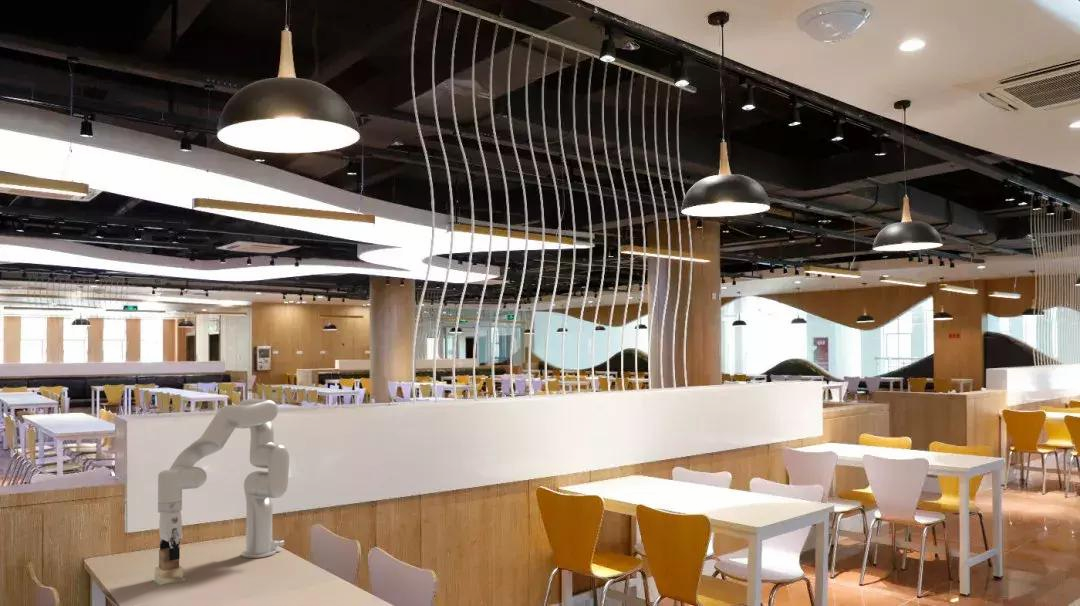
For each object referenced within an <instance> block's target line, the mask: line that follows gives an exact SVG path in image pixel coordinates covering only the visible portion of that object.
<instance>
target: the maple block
mask: <svg viewBox="0 0 1080 606" xmlns="http://www.w3.org/2000/svg"><path fill="white" fill-rule="evenodd" d="M183 578H184V567H183V566H181V565H180V564H179V568H175V569H169V570H164V571H163V570H162V569H160V568H159V566H157V567H154V579H155V580H156V581H158V582H159V583H160V584H162V585H164V584H163V583H167V584H169V583H168V582H172V583H174V582H173V581H177V582H179V581H178V580H182V581H184V580H183Z"/></svg>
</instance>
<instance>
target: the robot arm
mask: <svg viewBox="0 0 1080 606" xmlns="http://www.w3.org/2000/svg"><path fill="white" fill-rule="evenodd" d="M278 413H279V407H278V405H277V404H276V402H274V401H273V400H271V399H258V398H256V399H255V398H248V399H243V400H241V401H240V402H238V405H237V404H227V405H224V406H222V407H220V408H219V410H218V411H217V412H216V414H215V415H214V417H213V418H212V419H211V421H210V423H209V424H208V426H207V427H206V429H205V430H204V431H203V433H202V434H201V436H200V437H199V438H197V439H196V440H195V441H194V442H192V443H191V444H190V445H188V446H187V447H185V448H184V450H183V451H181V452H180V453H179V455H178V456H177V457H176V458H175V460H174V462H173V463H172V465H171V466H170V468H169V469H166V470H162V471H160V472H158V476H157V513H159V521H158V522H159V524H158V525H159V528H158V530H159V531H158V532H159V537H160V539H159V550H161V549H167V548H170V549H169V560H170V561H172V560H177V559H179V560H180V557H181V555H180V550H181V549H180V548H181V544H180V543H181V541H182V539H183V521H182V512H181V511H182V510H183V490H190V489H193V490H194V489H198V488H200V487H202V486H203V485H204V484H205V483H206V482H207V477H208V475H207V472H206V471H205V470H204V469H203V468H202V467H199V466H195V465H196V464H197V462H199V461H200V460H202V459H203V458H206V457H208V456H210V455H212V454H215V453H217V452H219V451H221V450H223V448H224V446H225V444H226V443H227V441H228V440H229V439H230V437H231V435H232V433H234V430H235V429H249V431H250V440H249V441H250V443H249V462H250V465H251V466H252V467H255V468H258V469H259V468H260V469H267V471H263V470H256V471H252V472H250V473H248V475H246V477H245V479H244V481H243V489H244V494H245V495H244V496H245V501H246V505H245V506H246V507H245V508H246V515H245V516H246V517H245V518H246V520H245V521H246V524H245V526H246V527H245V537H246V538H245V540H246V541H245V549H244V550H242V552H241V556H242V557H243V558H248V559H256V558H257V559H258V558H259V559H261V558H265V557H266V558H267V557H270V556H272V555H275V554H276V553H277V547H281V546H284V545H285V540H284V539H283V540H279V539H278V540H274V539H273V503H272V499H278V498H281V497H283V496H284V495H285V493H286V492H287V489H288V486H289V473H290V472H289V471H290V454H289V451H288V449H287V448H286V447H285V446H284V445H282V444H278V443H274V441H275V440H274V438H275V437H274V436H275V435H274V432H275V431H274V426H273V423H272V421H273V420H275V418H276V417H277V416H278Z"/></svg>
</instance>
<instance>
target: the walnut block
mask: <svg viewBox="0 0 1080 606" xmlns="http://www.w3.org/2000/svg"><path fill="white" fill-rule="evenodd" d="M169 549H170V548H167V549H161V550H160V549H159V550H158V567H159V568H160V569H162V570H163V571H164V570H169V569H175V568H179V565H180V558H179V559H177V560H172V561H170V560H169Z"/></svg>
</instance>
